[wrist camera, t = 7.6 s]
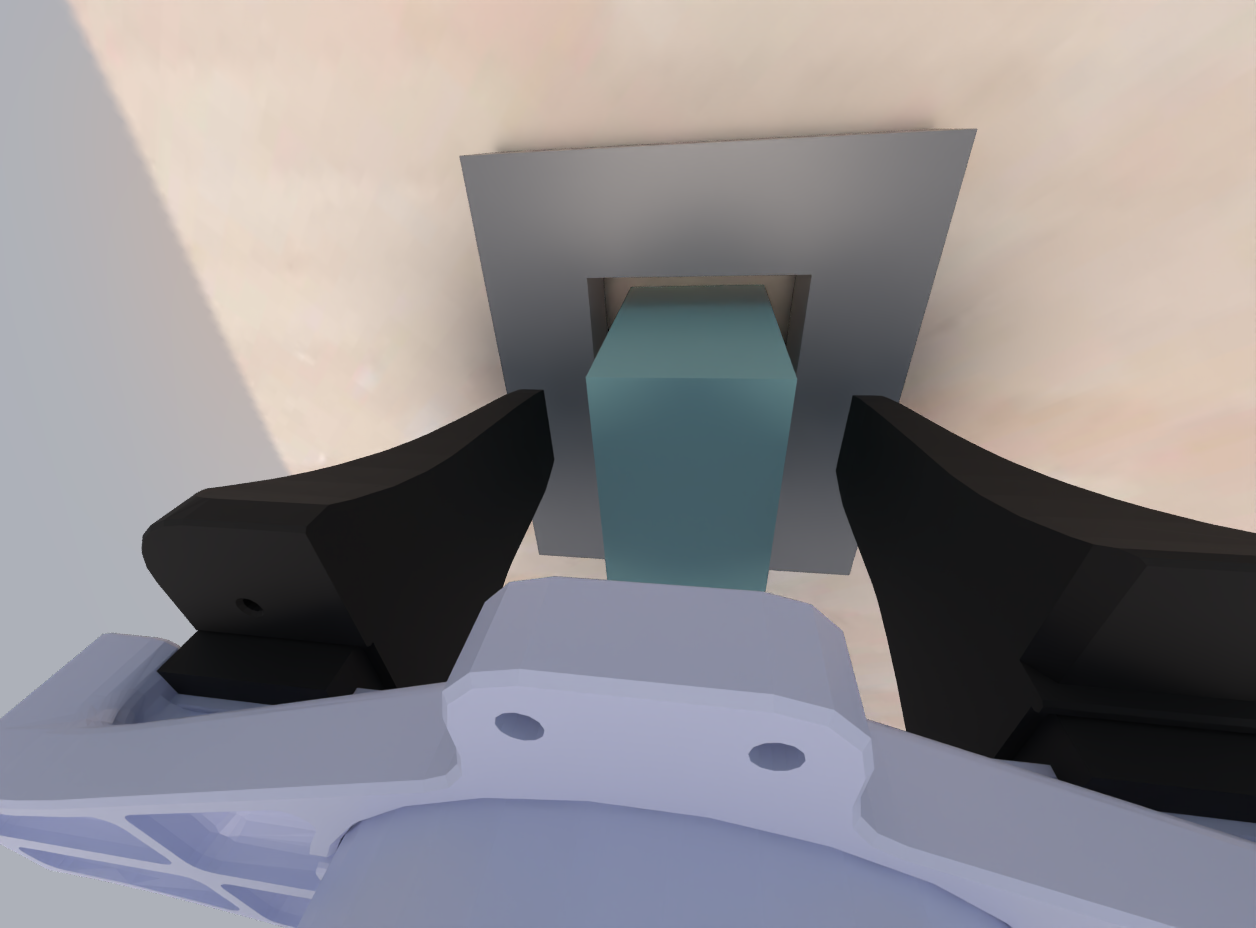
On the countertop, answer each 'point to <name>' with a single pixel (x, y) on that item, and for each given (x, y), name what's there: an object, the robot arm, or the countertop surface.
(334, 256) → the countertop surface
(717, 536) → the plug
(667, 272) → the socket plate
